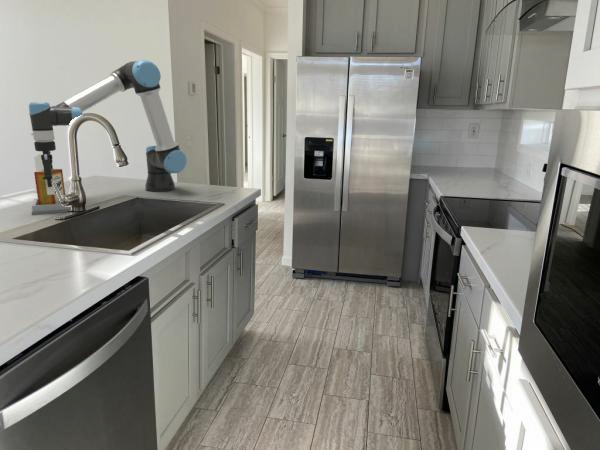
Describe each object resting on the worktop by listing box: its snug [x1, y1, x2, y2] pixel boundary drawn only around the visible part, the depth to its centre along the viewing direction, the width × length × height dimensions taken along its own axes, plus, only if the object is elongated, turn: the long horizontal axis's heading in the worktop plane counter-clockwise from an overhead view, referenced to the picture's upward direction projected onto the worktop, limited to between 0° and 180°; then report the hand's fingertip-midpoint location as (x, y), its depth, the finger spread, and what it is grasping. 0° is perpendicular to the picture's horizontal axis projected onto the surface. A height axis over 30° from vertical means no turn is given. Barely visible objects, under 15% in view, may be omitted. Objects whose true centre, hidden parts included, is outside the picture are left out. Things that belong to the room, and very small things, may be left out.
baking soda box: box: [34, 168, 66, 205], centre depth 189 cm, size 10×6×16 cm
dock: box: [31, 198, 71, 216], centre depth 191 cm, size 15×16×4 cm
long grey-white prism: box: [33, 151, 44, 172], centre depth 217 cm, size 6×6×22 cm
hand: (51, 191), depth 190 cm, fingers open, 13 cm apart
